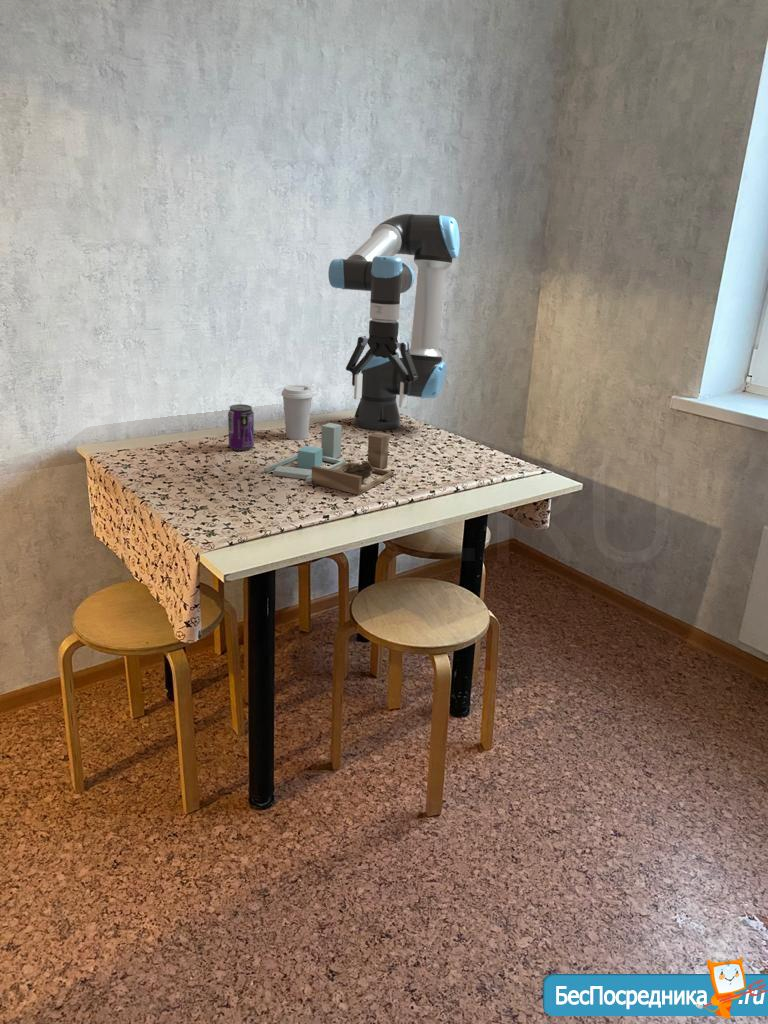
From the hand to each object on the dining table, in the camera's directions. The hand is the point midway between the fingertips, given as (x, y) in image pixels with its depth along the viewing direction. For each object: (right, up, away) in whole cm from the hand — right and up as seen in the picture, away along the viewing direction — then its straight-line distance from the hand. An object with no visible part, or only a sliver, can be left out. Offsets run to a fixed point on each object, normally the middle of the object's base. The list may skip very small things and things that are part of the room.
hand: (379, 402), depth 203 cm
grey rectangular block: (-22, -19, -2) cm, 30 cm away
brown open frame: (-5, -20, -1) cm, 20 cm away
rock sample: (-8, -21, -4) cm, 23 cm away
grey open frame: (-19, -16, +6) cm, 25 cm away
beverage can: (-40, -11, +18) cm, 45 cm away
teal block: (-19, -17, +5) cm, 26 cm away
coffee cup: (-25, -6, +31) cm, 40 cm away
